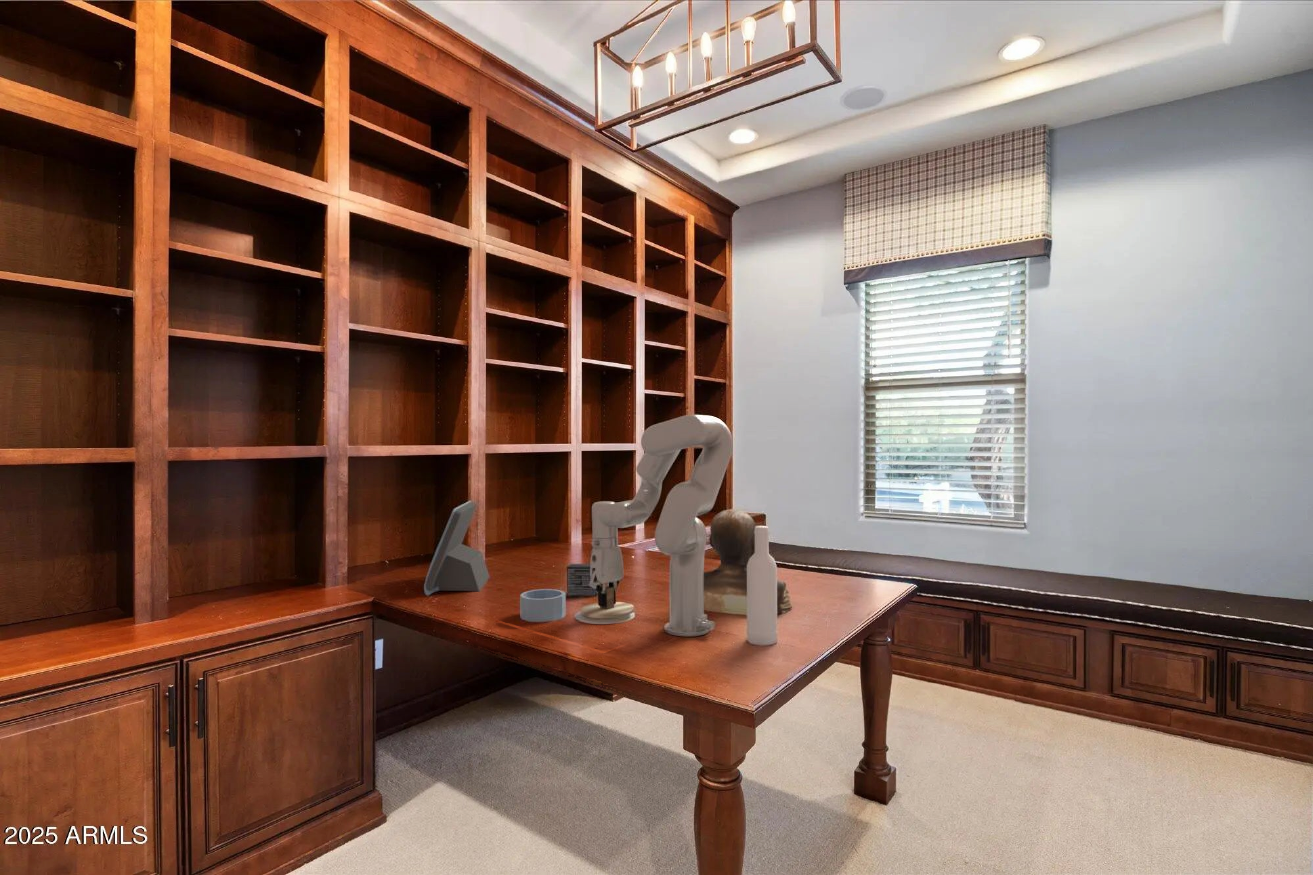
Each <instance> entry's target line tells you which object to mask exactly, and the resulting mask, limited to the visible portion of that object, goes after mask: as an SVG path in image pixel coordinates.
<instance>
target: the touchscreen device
mask: <svg viewBox="0 0 1313 875" xmlns="http://www.w3.org/2000/svg"><path fill="white" fill-rule="evenodd" d="M477 507H478V502H475V501H472V500H468V501H467V502H465V503H463V504H460V505H458V506H457V507H455V508H453V510H452V511H451V512H450V513H451V514H450V515H449V518H448V520H447V523H446V526H444V530H443V532H442V535H441V537H440V540H439V542H438V544H437V547H436V549H435V552H434V553H433V557H432V559H431V562H430V565H429V568H428V571H427V574H426V577H425V582H424V583H423V590H424V595H425V596H430V595H431V594H433V593H436V592H440V591H442V592H443V591H444V592H445V591H447V592H448V591H449V592H451V591H452V592H480V591H482V589H483V587H484V586H485V585H486V583H487V582H488V581H489V579H490V573H489V571H488V567H487V565H486V561H485V559H484V558H485V557H484V555H483V552H482V551H481V550H477V549H476V548H472V547H469V546H468V545H465V544H462V543H463V541H464V539H465V536H466V534H467V532H468V528H469V526H470V524H471V521H472V519H473V517H474V514H475V512H476V508H477Z"/></svg>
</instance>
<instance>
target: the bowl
mask: <svg viewBox="0 0 1313 875" xmlns="http://www.w3.org/2000/svg"><path fill="white" fill-rule="evenodd" d="M566 615H567V592H565V591H564V590H560V589H555V588H553V589H551V588H544V589H543V588H542V589H541V588H540V589H532V590H528V591H524V592H522V593H521V594H519V617H520V619H521V620H523V621H526V622H531V623H534V622H535V623H545V622H554V621H557V620H562V619H563V618H565V617H566Z"/></svg>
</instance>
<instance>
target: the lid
mask: <svg viewBox="0 0 1313 875" xmlns="http://www.w3.org/2000/svg"><path fill="white" fill-rule="evenodd" d="M605 593H607V607H602V606H599V605H598V602H595V603H590V604H589V603H588V604H586V605H583V606H581V608H580V609H579V612H580V614H581V615H582V616H585V617H589V618H615V617H622V616H626V615H629V614H631V613H633V612H634V613H635V606H634V605H633V604H632V603H628V602H624V601H623V602H621V601H616V604H614V587H608V585H607V586H606V587H605Z"/></svg>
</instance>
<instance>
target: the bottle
mask: <svg viewBox="0 0 1313 875" xmlns="http://www.w3.org/2000/svg"><path fill="white" fill-rule="evenodd" d="M755 526H756V527H755V531H754V534H755V553H754V554H753V555H752V556H751V557H750V558H749V561H748V564H747V615H746V640H747V642H748V643H750V644H751V645H756V646H763V647H765V646H773V645H775V644H777V643H778V635H779V634H778V632H779V631H778V630H779V629H778V615H777V581H778V565H777V564H776V560H775V558H774V557H773V556H772V555H771V554H770V553H769V552H770V548H769V546H770V544H769V543H770V542H769V539H770V538H769V536H770V530H769V526H767V525H755Z"/></svg>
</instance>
